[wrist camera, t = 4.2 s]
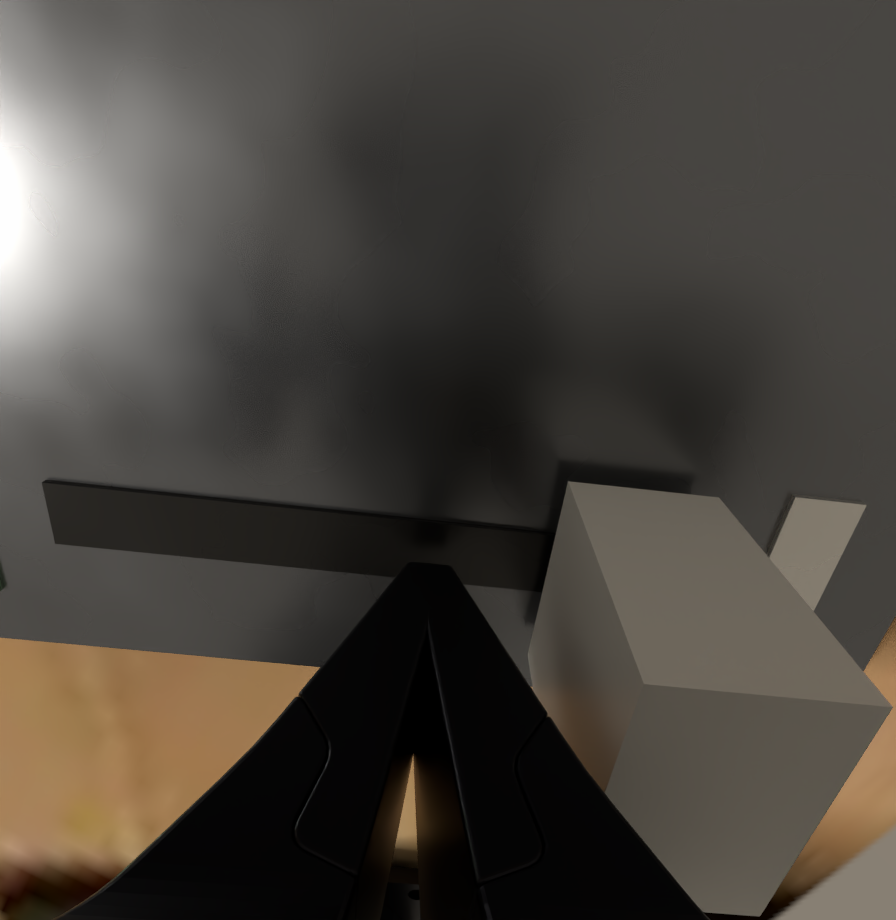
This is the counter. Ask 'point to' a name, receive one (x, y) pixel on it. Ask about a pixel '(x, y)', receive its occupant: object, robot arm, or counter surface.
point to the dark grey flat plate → (433, 303)
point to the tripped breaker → (696, 687)
